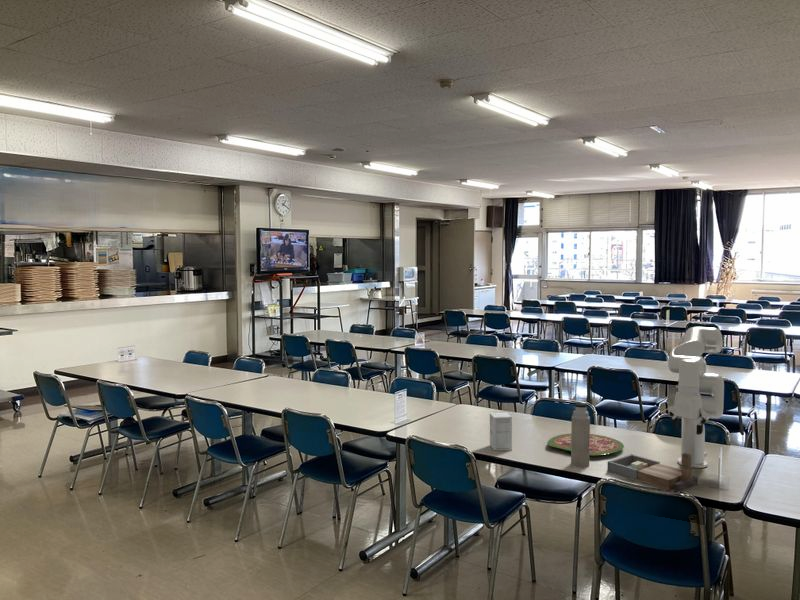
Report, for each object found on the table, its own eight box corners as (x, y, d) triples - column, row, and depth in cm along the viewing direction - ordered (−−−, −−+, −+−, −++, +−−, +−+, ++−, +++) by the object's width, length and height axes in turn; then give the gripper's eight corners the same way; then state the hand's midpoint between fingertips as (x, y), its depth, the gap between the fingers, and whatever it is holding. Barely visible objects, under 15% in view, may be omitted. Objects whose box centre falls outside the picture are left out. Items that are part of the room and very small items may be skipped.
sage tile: (643, 473, 270) (637, 472, 272) (643, 462, 270) (638, 461, 272) (636, 476, 267) (631, 474, 269) (636, 464, 267) (631, 463, 269)
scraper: (692, 483, 261) (693, 450, 260) (698, 484, 259) (698, 451, 258) (673, 490, 253) (674, 456, 252) (679, 492, 251) (680, 458, 250)
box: (631, 463, 286) (631, 454, 286) (659, 471, 275) (659, 461, 275) (607, 471, 275) (607, 461, 275) (636, 480, 264) (636, 470, 264)
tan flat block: (658, 472, 274) (658, 463, 274) (689, 481, 263) (689, 472, 263) (637, 480, 265) (637, 470, 265) (668, 489, 254) (668, 480, 253)
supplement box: (507, 445, 316) (508, 412, 315) (512, 450, 306) (512, 416, 305) (489, 445, 315) (489, 412, 314) (493, 451, 306) (493, 417, 305)
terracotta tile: (647, 463, 276) (647, 469, 276) (637, 460, 280) (637, 466, 280) (641, 466, 273) (641, 471, 273) (631, 463, 277) (631, 468, 277)
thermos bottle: (589, 462, 287) (590, 402, 286) (589, 468, 280) (590, 406, 278) (571, 461, 290) (571, 401, 288) (570, 467, 282) (571, 405, 280)
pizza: (537, 447, 312) (537, 443, 311) (572, 433, 336) (572, 429, 336) (602, 463, 287) (602, 458, 287) (636, 447, 312) (636, 442, 312)
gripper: (663, 387, 258) (662, 428, 260) (705, 395, 244) (703, 438, 246) (673, 385, 263) (672, 425, 264) (714, 392, 249) (713, 434, 250)
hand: (687, 431), depth 255 cm, fingers open, 9 cm apart
